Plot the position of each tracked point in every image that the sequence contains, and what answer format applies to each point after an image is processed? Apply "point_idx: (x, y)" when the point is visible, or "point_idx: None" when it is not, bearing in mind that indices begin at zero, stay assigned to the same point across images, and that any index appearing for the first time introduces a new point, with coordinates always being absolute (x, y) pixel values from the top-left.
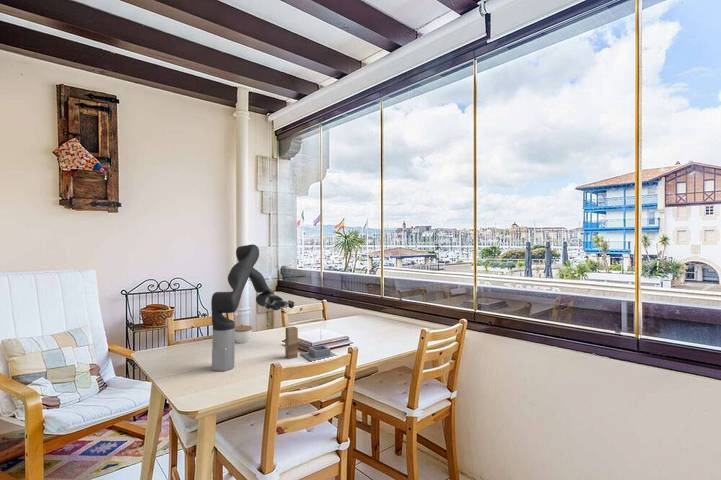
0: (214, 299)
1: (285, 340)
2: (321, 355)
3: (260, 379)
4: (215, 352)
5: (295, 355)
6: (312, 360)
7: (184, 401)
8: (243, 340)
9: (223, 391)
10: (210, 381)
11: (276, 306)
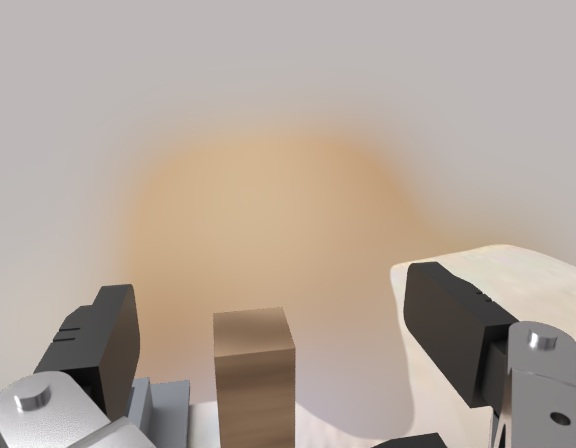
0: None
1: (294, 434)
2: None
3: (403, 309)
4: None
5: None
6: (183, 382)
7: (554, 265)
8: None
9: (486, 280)
10: (571, 327)
11: (408, 271)
